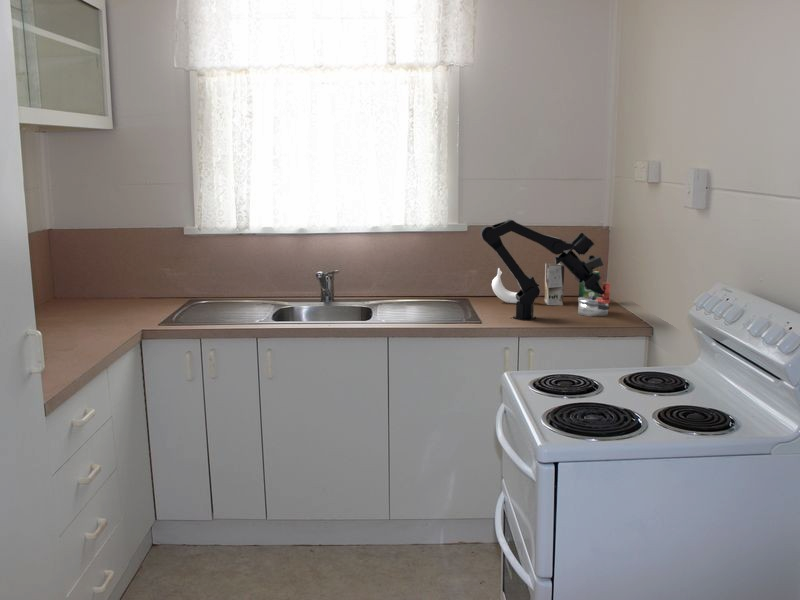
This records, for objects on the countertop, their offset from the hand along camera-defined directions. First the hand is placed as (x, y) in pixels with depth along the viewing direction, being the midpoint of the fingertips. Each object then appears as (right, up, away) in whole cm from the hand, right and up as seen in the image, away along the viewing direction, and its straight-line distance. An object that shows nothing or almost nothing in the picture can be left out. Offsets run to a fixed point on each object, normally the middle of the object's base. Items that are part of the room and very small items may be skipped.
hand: (603, 293), depth 300 cm
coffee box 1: (-13, -4, +31) cm, 33 cm away
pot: (-1, -7, +10) cm, 13 cm away
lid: (-1, -3, +8) cm, 8 cm away
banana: (-28, -4, +31) cm, 42 cm away
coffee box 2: (+2, -4, +30) cm, 31 cm away
